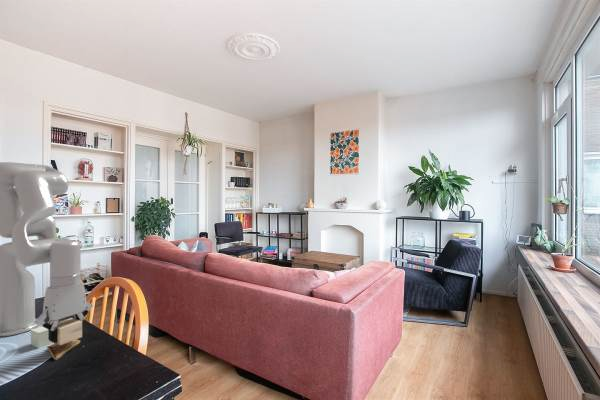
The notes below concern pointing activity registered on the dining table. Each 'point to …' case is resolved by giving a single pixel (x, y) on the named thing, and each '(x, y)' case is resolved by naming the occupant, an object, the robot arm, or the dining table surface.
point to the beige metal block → (68, 330)
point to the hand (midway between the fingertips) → (66, 336)
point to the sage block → (40, 337)
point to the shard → (61, 348)
